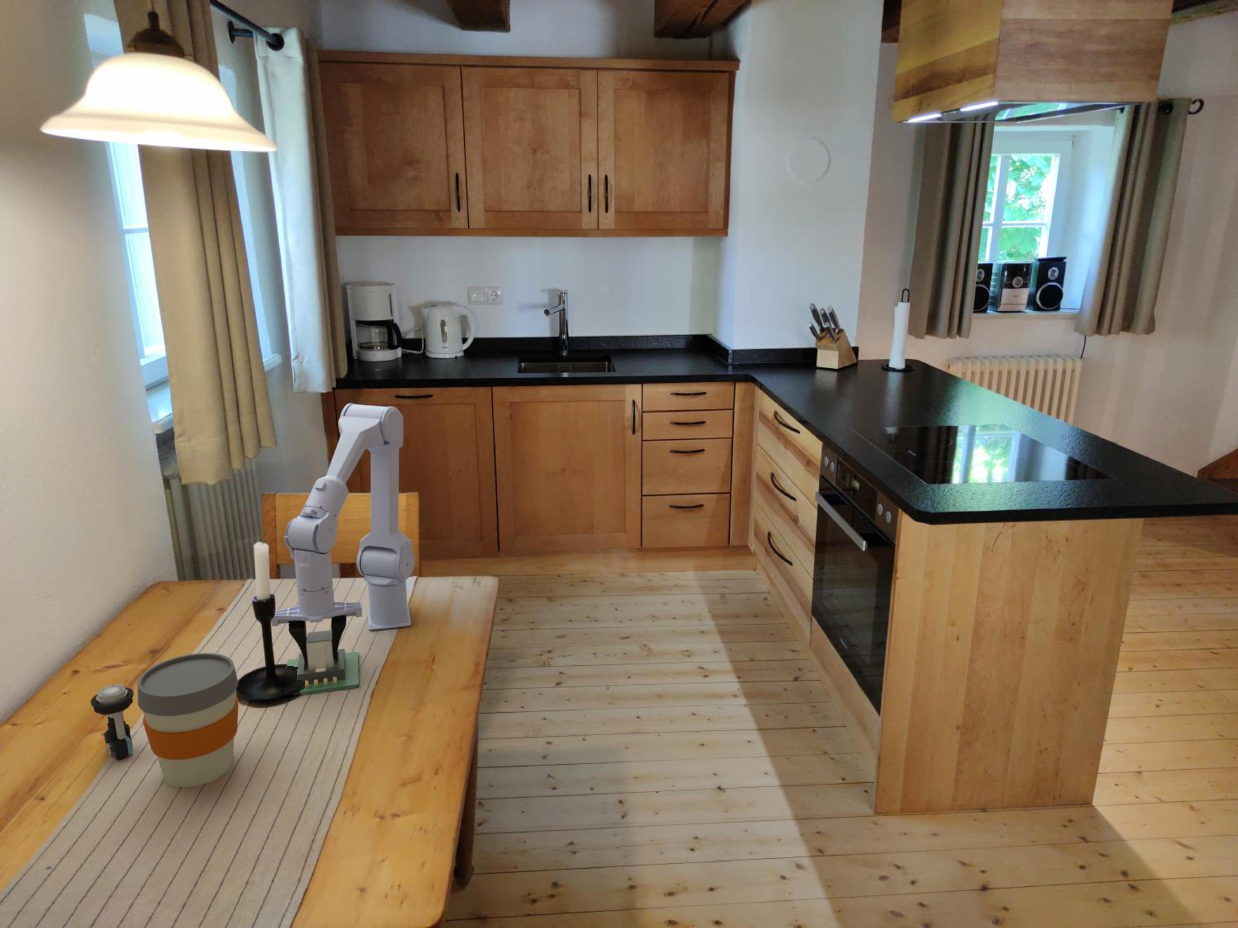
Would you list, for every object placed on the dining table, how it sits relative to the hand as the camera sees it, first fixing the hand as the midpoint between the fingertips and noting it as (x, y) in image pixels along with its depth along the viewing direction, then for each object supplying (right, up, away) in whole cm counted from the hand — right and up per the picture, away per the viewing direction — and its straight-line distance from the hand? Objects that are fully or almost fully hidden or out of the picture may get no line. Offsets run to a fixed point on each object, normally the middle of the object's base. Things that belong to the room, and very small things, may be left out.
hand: (321, 657), depth 145 cm
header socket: (0, -3, +1) cm, 3 cm away
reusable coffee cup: (-9, -10, -25) cm, 28 cm away
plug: (0, -2, 0) cm, 2 cm away
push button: (-22, -9, -21) cm, 32 cm away
